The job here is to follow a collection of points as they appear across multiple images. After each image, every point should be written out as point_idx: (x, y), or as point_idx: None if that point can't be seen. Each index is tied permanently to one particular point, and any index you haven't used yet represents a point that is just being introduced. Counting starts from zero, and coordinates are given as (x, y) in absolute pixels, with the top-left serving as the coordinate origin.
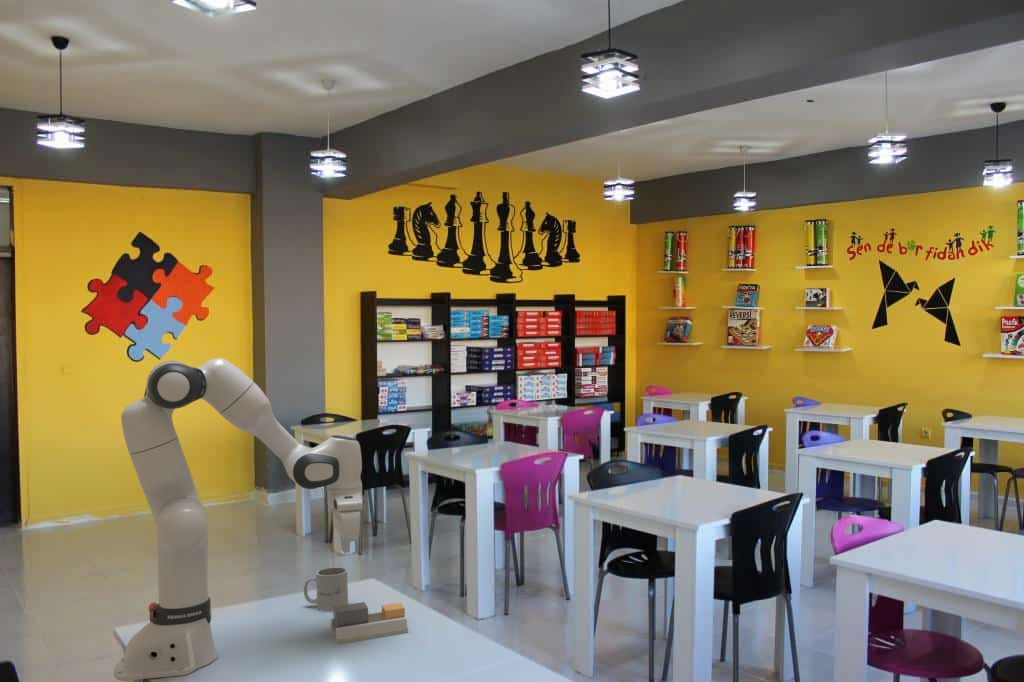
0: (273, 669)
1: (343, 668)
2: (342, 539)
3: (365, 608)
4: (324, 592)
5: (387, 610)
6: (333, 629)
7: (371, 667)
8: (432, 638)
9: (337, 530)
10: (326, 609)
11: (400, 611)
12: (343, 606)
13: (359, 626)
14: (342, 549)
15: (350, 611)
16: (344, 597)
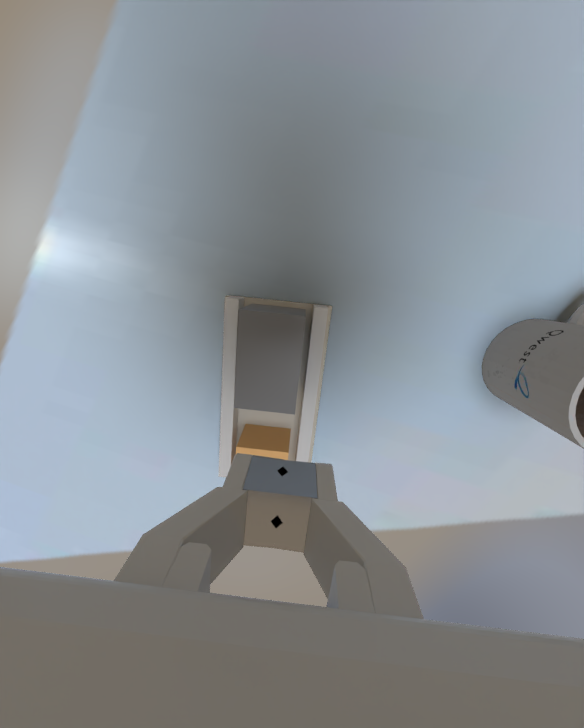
0: (121, 84)
1: (64, 266)
2: (177, 544)
3: (234, 400)
4: (544, 343)
5: (237, 451)
6: (309, 308)
7: (49, 326)
8: (163, 484)
9: (388, 648)
10: (500, 337)
11: None
12: (287, 346)
13: (223, 362)
14: (262, 464)
15: (237, 354)
16: (506, 397)
